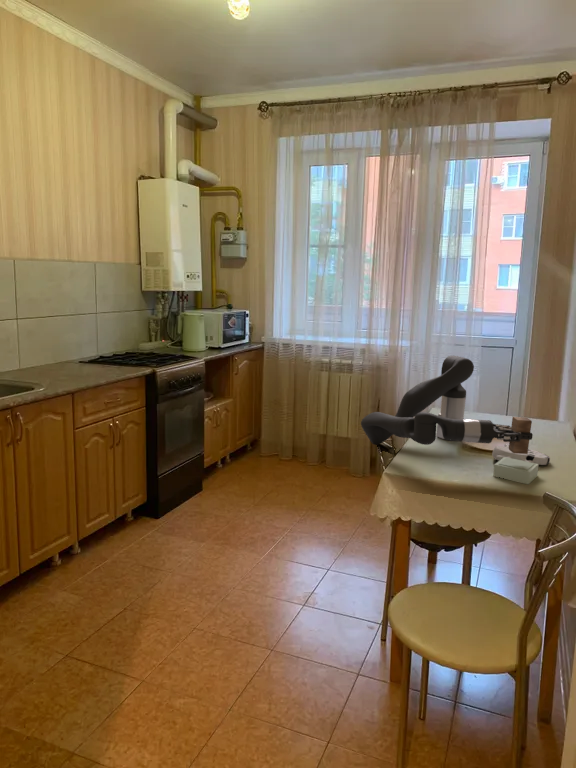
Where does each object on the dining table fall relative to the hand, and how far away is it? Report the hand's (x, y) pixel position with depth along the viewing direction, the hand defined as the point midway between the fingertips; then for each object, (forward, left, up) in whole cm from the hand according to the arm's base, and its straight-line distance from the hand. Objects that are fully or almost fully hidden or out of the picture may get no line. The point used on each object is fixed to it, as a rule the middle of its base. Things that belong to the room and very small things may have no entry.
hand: (528, 434), depth 184 cm
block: (-2, -2, -6) cm, 7 cm away
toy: (-6, +17, -15) cm, 23 cm away
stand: (-2, -1, -14) cm, 15 cm away
